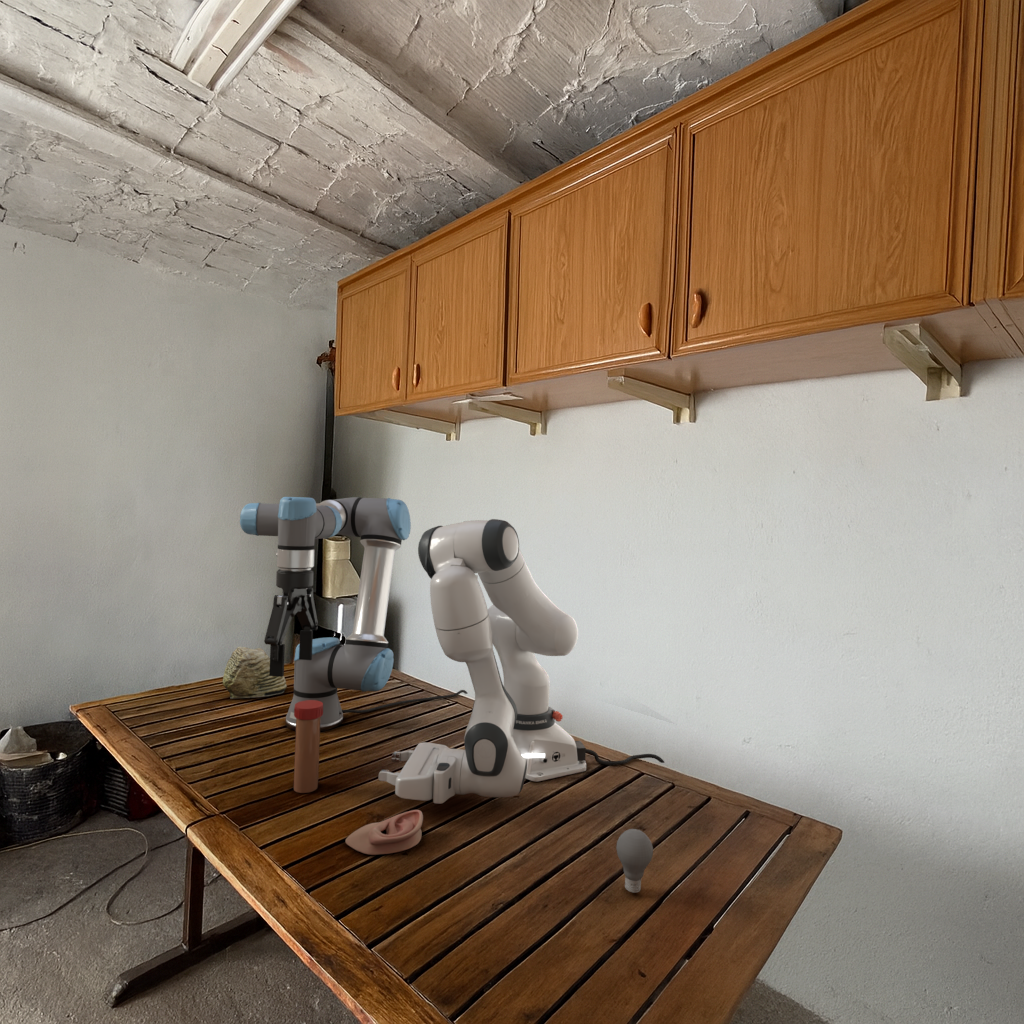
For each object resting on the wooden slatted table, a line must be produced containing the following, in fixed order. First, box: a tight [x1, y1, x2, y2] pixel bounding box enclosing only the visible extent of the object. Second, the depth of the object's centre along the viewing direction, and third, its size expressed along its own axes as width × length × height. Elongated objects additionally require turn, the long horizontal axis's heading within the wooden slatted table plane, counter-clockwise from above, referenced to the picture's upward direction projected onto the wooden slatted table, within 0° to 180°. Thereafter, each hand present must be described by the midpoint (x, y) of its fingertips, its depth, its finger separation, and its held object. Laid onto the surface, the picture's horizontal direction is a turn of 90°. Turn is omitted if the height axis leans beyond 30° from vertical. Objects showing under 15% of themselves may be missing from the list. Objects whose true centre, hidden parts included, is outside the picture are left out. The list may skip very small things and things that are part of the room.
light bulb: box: [615, 828, 654, 894], centre depth 106 cm, size 6×6×10 cm
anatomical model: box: [344, 809, 424, 856], centre depth 118 cm, size 13×4×12 cm
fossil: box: [222, 646, 288, 699], centre depth 198 cm, size 9×18×15 cm, turn 132°
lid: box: [294, 700, 323, 720], centre depth 137 cm, size 6×6×2 cm
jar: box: [293, 717, 321, 794], centre depth 137 cm, size 5×5×18 cm
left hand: (291, 667), depth 136 cm, fingers open, 13 cm apart
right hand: (386, 765), depth 135 cm, fingers open, 8 cm apart
